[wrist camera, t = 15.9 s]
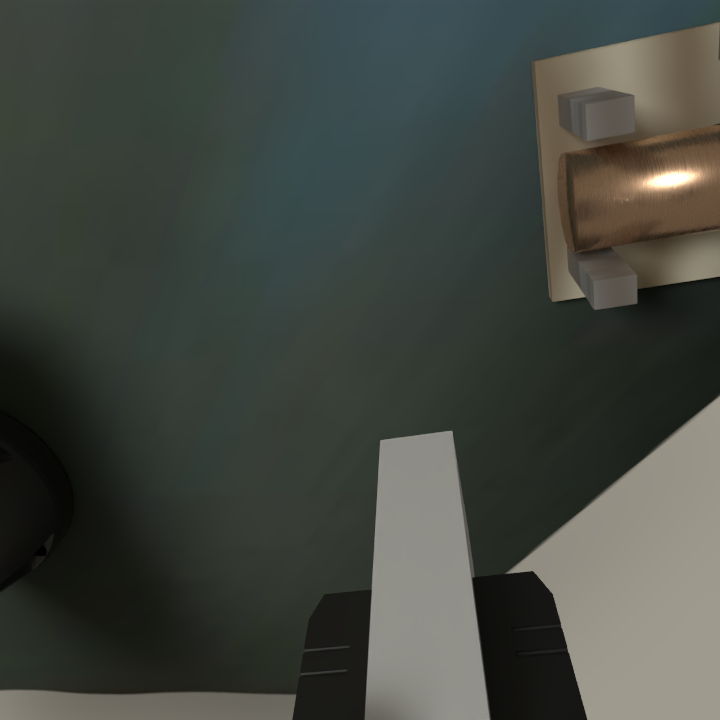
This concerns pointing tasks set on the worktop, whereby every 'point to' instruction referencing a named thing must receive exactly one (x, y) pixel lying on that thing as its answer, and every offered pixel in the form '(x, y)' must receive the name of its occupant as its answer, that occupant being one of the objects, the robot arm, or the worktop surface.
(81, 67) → the worktop surface
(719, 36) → the post
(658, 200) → the tube
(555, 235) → the board
